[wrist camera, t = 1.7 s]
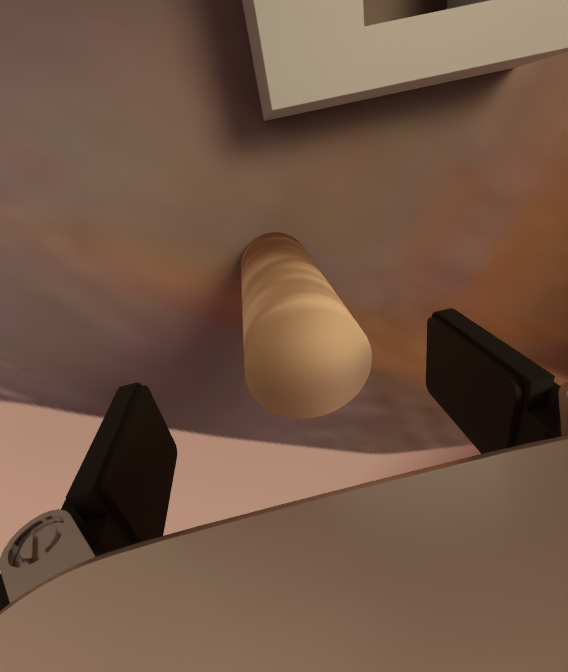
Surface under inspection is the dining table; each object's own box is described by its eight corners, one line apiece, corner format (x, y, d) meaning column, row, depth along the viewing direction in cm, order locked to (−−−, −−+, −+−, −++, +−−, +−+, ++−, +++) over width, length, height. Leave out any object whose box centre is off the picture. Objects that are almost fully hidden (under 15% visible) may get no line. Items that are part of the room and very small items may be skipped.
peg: (302, 225, 21) (368, 296, 10) (312, 291, 23) (375, 403, 13) (233, 240, 21) (229, 327, 10) (249, 304, 23) (260, 430, 13)
